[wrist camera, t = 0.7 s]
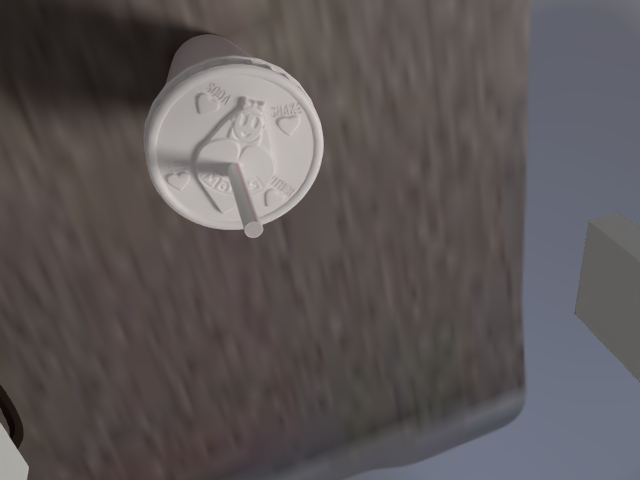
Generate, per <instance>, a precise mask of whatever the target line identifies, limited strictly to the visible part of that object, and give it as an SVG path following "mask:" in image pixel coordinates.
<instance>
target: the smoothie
mask: <svg viewBox="0 0 640 480" xmlns="http://www.w3.org/2000/svg"><path fill="white" fill-rule="evenodd" d="M143 148H144V153H145V157H146V162H147V168H148V171H149V174H150V177H151V180H152V182H153V184H154V186H155V188H156V190H157V191H158V193H159V194H160V195H161V197H162V198H163V199H164V200H165V202H166V203H167V204H168V205H169V206H170V207H171V208H172V209H174V210H175V211H176V212H178V213H179V214H180V215H182V216H183V217H185V218H187V219H189V220H191V221H193V222H195V223H198V224H200V225H203V226H207V227H211V228H216V229H224V230H238V229H244V231H245V234H246V235H247V236H248V237H251V238H255V237H258V236H260V235H261V233H262V232H263V226H262V225H263V224H265V223H268V222H270V221H272V220H274V219H276V218H278V217H280V216H282V215H283V214H285V213H286V212H288V211H289V210H290V209H292V208H293V207H294V206H295V205H296V204H297V203H298V202H299V201H300V200H301V199H302V198H303V197H304V196H305V194H306V193H307V192H308V190H309V189H310V187H311V186H312V184H313V182H314V180H315V178H316V176H317V174H318V171H319V168H320V165H321V161H322V156H323V132H322V127H321V123H320V120H319V117H318V115H317V112H316V110H315V108H314V106H313V103H312V101H311V99H310V98H309V96H308V95H307V93H306V92H305V90H304V89H303V88H302V86H301V85H300V83H299V82H298V81H297V80H295V79H294V78H293V77H292V76H290V75H289V74H288V73H287V72H285V71H284V70H283V69H282V68H280V67H278V66H275V65H273V64H271V63H268V62H266V61H264V60H261V59H259V58H253V57H251V56H250V55H248V54H247V53H246V52H244V51H243V50H242V49H240V48H239V47H238V46H236V45H235V44H234V43H232V42H231V41H230V40H228V39H226V38H224V37H221V36H218V35H212V34H204V35H199V36H195V37H193V38H191V39H189V40H187V41H186V42H185V43H183V44H182V45H181V46H180V47H179V49H178V50H177V51H176V53H175V55H174V57H173V59H172V63H171V66H170V70H169V74H168V77H167V81H166V84H165V86H164V88H163V89H162V90H161V92H160V93H159V94H158V96H157V97H156V98H155V100H154V101H153V103H152V105H151V108H150V111H149V114H148V116H147V119H146V122H145V126H144V142H143Z"/></svg>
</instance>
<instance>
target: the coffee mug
mask: <svg viewBox="0 0 640 480" xmlns="http://www.w3.org/2000/svg"><path fill="white" fill-rule="evenodd" d="M0 408H1V410H2V412H3V415H4V416H5V418H6V420H7V423H8V425H9V429H10V439H11V440H12V442H13V443H14V445H15V446H16V448H17V450H18V448H19V446H20V444H21V442H22V440H23V425H22V422H21V419H20V417H19V415H18V412H17V410H16V408H15V406H14V405H13V403H12V402H11V400H10V398H9V397H8V395H7V393H6V392H5V390H4V389H3V388H2V386H1V385H0Z"/></svg>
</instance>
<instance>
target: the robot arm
mask: <svg viewBox="0 0 640 480" xmlns="http://www.w3.org/2000/svg"><path fill="white" fill-rule="evenodd" d="M575 315H576V316H577V317H578V318H579V319H580V320H581V321H582V322H583V323H584V324H585V325H586V326H587V327H588V328H589V329H590V330H591V331H592V333H593V334H594V335H595V336H596V337H597V338H598V339H599V340H600V341H601V342H602V343H603V344H604V345H605V346H606V347H607V348H608V349H609V350H610V351H611V352H612V354H613V355H614V356H615V357H616V358H617V359H618V360H619V361H620V362H621V363H622V364H623V365H624V366H625V367H626V368H627V369H628V370H629V371H630V372H631V374H632V375H633V376H634V377H635V378H636V379H637V380H638V381H639V382H640V227H639V226H637V225H636V224H635V223H633V222H632V221H631V220H629V219H628V218H627V217H625V216H624V215H623V214H621V213H620V212H618V213H614V214H610V215H606V216H602V217H598V218H595V219H591V220H588V226H587V234H586V240H585V246H584V254H583V260H582V267H581V273H580V280H579V287H578V294H577V300H576V307H575ZM28 470H29V467H28V465H27V464H26V462H25V460H24V459H23V457H22V456H21V454H20V453H19V451H18V450H17V448H16V446H15V445H14V443H13V442H12V440H11V439H10V437H9V436H8V434H7V432H6V431H5V429H4V428H3V426H2V425H1V423H0V480H27V475H28Z"/></svg>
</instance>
